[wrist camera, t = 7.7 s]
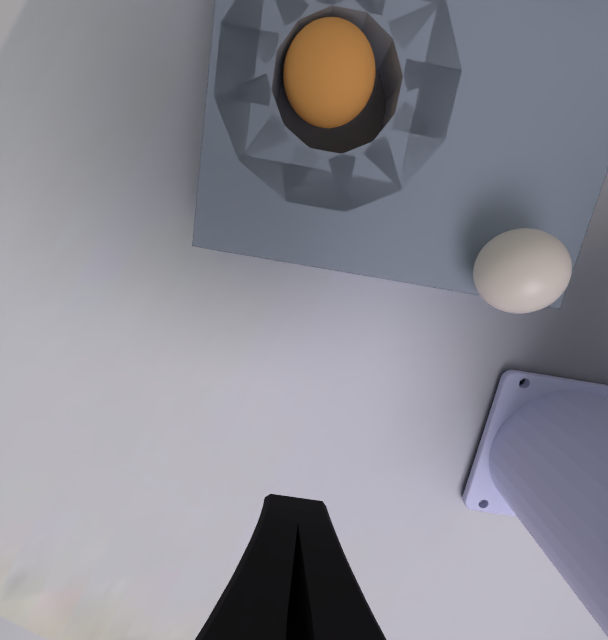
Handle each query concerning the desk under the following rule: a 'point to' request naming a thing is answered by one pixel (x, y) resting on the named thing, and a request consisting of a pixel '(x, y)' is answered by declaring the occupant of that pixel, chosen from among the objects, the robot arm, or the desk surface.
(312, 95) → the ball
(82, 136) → the desk surface
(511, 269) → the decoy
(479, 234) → the grey socket plate
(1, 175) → the desk surface
